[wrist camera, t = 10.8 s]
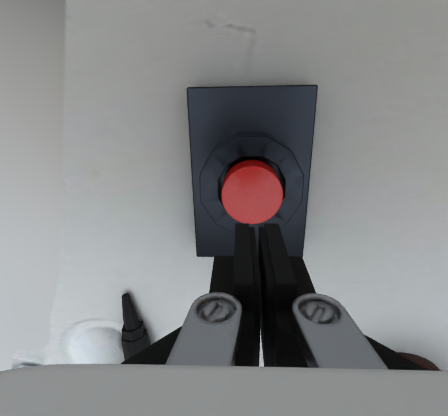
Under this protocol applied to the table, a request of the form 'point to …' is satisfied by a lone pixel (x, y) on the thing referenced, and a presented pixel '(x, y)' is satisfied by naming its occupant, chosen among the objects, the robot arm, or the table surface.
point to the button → (251, 192)
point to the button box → (250, 156)
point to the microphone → (132, 330)
